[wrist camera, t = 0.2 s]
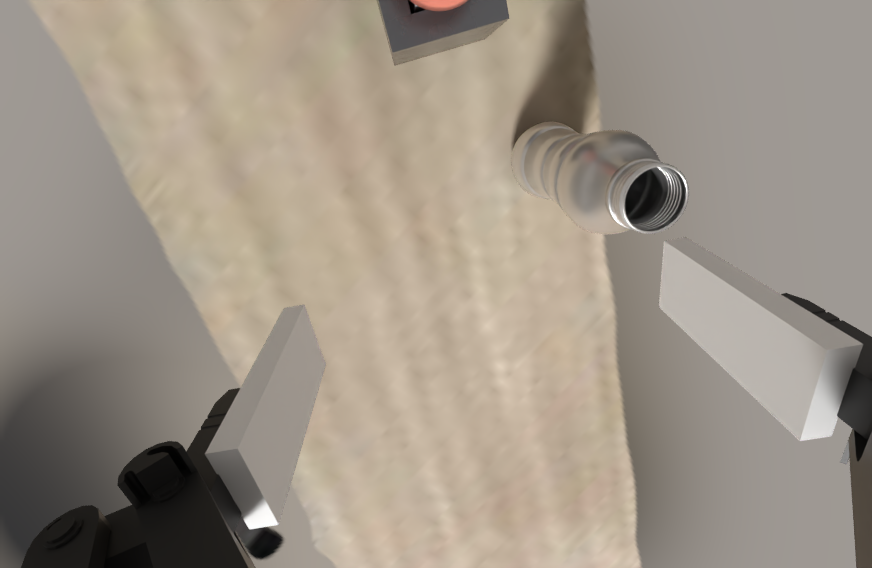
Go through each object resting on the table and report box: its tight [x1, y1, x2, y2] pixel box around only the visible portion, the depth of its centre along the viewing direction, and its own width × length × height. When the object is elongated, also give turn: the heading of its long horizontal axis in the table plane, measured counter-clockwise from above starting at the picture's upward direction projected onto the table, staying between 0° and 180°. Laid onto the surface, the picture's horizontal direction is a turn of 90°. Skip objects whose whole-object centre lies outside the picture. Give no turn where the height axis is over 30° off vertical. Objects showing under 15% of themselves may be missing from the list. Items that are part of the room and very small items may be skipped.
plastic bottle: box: [511, 122, 689, 234], centre depth 31 cm, size 6×7×20 cm
